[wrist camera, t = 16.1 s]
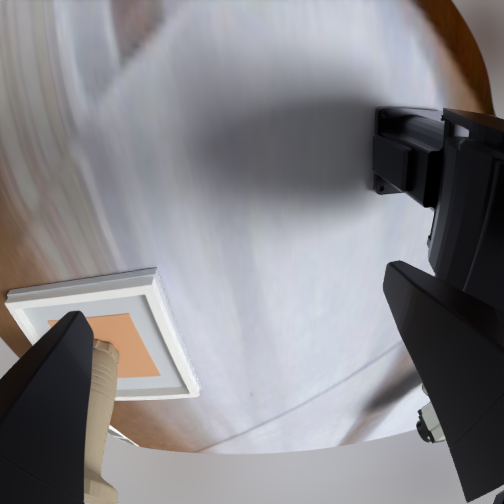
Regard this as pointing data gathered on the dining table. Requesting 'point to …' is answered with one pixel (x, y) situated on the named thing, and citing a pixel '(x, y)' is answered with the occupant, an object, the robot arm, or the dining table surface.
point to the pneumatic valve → (429, 423)
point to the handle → (100, 422)
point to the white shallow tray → (118, 328)
